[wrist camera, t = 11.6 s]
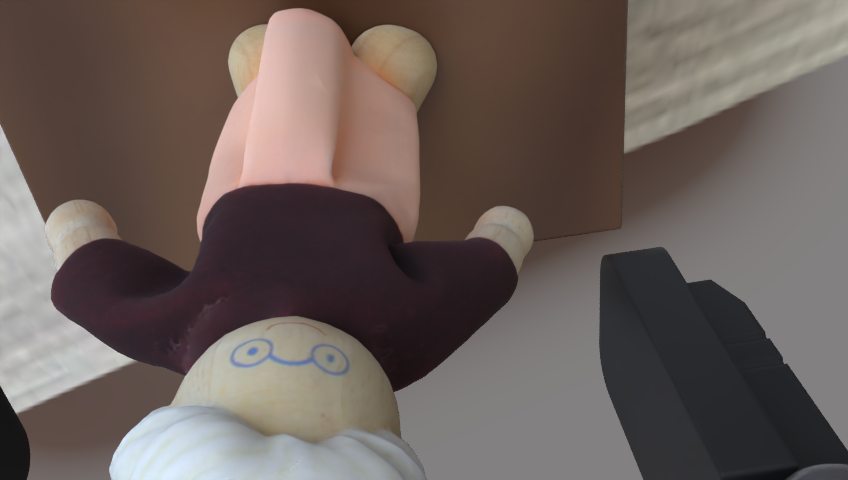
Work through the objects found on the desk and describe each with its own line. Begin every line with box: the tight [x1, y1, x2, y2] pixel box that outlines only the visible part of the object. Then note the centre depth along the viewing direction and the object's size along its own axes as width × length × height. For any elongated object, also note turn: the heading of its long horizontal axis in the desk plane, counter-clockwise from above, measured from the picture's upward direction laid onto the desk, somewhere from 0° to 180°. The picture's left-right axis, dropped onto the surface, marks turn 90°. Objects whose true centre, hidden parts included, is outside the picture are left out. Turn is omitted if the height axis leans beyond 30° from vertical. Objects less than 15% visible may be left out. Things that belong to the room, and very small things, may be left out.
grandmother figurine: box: [45, 8, 534, 480], centre depth 12 cm, size 8×4×13 cm, turn 96°
